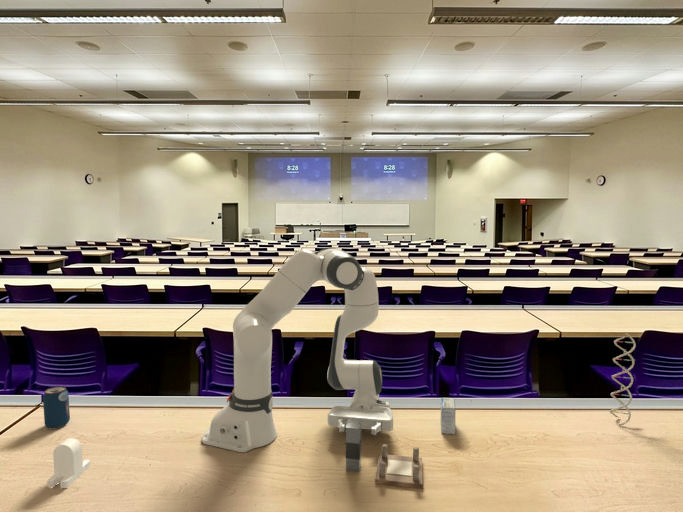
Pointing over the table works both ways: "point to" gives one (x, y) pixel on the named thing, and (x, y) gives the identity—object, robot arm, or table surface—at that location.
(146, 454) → the table surface
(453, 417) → the medicine box
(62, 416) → the soda can
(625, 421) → the dna model
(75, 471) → the cable organizer
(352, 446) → the grey rectangular block
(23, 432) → the table surface
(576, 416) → the table surface
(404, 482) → the peg cradle
